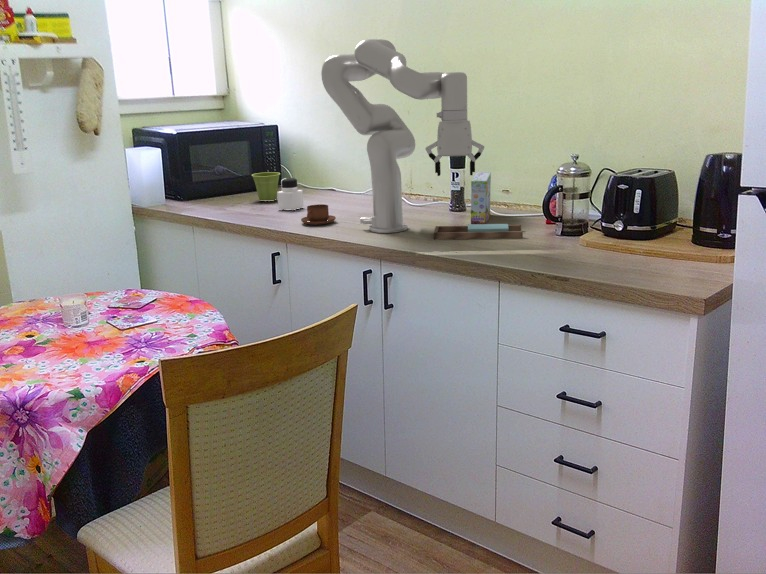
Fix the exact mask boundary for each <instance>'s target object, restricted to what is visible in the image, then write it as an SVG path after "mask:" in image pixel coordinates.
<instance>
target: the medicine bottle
mask: <svg viewBox="0 0 766 574" xmlns="http://www.w3.org/2000/svg"><path fill="white" fill-rule="evenodd" d="M280 184H281V191H280V190H279V191H277V205H278V206H277V208H279V209H291V210H294V209H297V208H302V207H304V206H305V205H304V194H303V193H304V191H303V189H298V179H297V178H295V177H287V178H286V177H285V178H283V179H281V181H280ZM304 208H305V207H304ZM279 209H278V210H279Z"/></svg>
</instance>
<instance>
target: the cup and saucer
mask: <svg viewBox="0 0 766 574" xmlns="http://www.w3.org/2000/svg"><path fill="white" fill-rule="evenodd" d="M306 211H307V214H306V216H305V217H302V218H301V220H300V221H301V222H302V223H303V224H305V225H308V224H309V225H310V226H322V224H324V225H328V224H331V223H333V222H334V221H336V217H337V216H334V215H329V214H330V213H329V205H328V204H310V205H308V206H306ZM327 220H328V221H327ZM307 221H310V222H307Z"/></svg>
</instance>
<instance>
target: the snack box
mask: <svg viewBox="0 0 766 574" xmlns="http://www.w3.org/2000/svg"><path fill="white" fill-rule="evenodd" d="M491 177H492V172H475V175H474V176H473V178H472V179H471V182H470V183H471V184H470V224H488V221H489V219H490V216H491V187H492V186H491V185H492V184H491V183H492V182H491V181H492V180H491V179H492V178H491Z"/></svg>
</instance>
